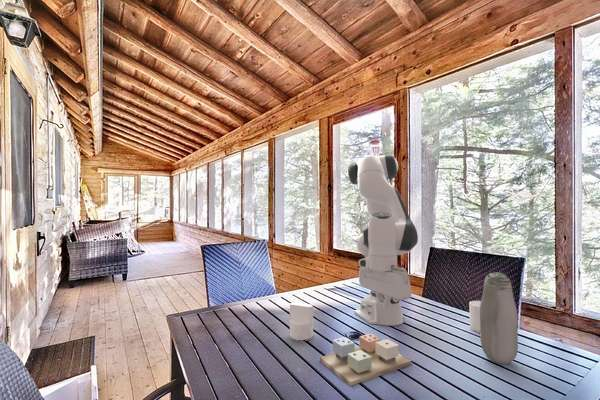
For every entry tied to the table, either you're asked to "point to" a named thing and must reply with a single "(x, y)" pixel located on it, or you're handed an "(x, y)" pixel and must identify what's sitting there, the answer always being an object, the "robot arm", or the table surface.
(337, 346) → the tile three
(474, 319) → the mug
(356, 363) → the tile two
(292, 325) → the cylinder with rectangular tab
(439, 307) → the table surface
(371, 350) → the tile four
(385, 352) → the tile one
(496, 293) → the grey tall rounded block
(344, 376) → the board
